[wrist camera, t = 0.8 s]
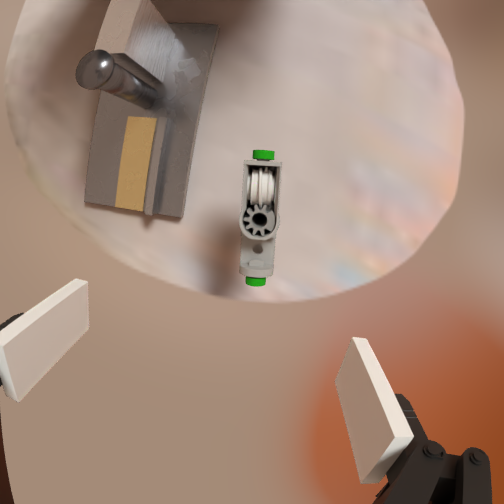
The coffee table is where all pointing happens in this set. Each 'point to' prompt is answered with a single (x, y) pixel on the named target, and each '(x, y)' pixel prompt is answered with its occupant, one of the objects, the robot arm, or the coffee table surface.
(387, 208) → the coffee table surface
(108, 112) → the hinge base
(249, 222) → the mechanical component
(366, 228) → the coffee table surface
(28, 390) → the robot arm
